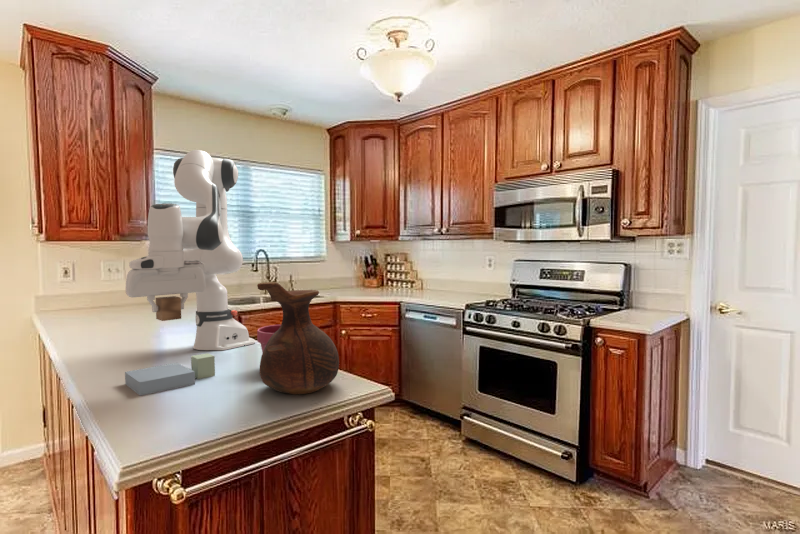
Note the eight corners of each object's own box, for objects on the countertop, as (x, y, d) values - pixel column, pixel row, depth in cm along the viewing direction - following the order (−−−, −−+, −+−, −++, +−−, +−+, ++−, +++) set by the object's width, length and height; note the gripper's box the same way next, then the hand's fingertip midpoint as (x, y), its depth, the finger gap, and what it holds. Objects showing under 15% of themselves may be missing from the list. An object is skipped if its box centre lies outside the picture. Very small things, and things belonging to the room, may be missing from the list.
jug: (255, 381, 132) (253, 277, 130) (329, 373, 139) (328, 275, 138) (260, 406, 111) (258, 283, 110) (347, 395, 119) (346, 280, 118)
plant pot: (287, 376, 137) (287, 333, 136) (248, 371, 142) (247, 330, 141) (312, 364, 151) (311, 325, 150) (275, 360, 155) (274, 323, 154)
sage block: (208, 372, 142) (207, 353, 141) (214, 375, 138) (214, 356, 138) (191, 375, 138) (191, 356, 138) (198, 379, 134) (197, 358, 134)
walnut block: (175, 316, 132) (174, 296, 132) (181, 318, 129) (180, 297, 129) (156, 318, 129) (155, 297, 129) (162, 321, 125) (161, 299, 125)
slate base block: (177, 375, 140) (177, 362, 139) (195, 385, 130) (194, 371, 129) (125, 385, 130) (124, 371, 130) (140, 397, 120) (139, 382, 120)
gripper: (199, 259, 138) (201, 305, 138) (122, 262, 123) (124, 313, 124) (208, 260, 133) (209, 307, 134) (129, 263, 119) (131, 316, 119)
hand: (168, 310), depth 129 cm, fingers closed on walnut block, 5 cm apart
